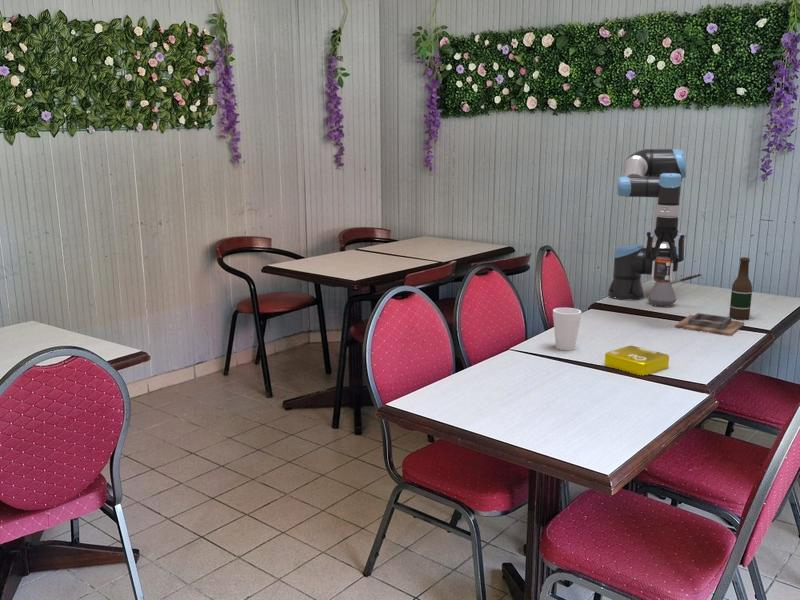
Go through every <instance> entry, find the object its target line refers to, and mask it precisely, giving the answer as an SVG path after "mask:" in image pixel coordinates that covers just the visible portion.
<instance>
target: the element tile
mask: <svg viewBox="0 0 800 600" xmlns="http://www.w3.org/2000/svg"><path fill="white" fill-rule="evenodd" d="M669 363H670V355H669V354H667V353H663V352H659V351H654V350H651V349H647V348H642V347H638V346H635V345H628V346H624V347H619V348H617V349H613V350H611V351H607V352H605V354H604V366H605V367H608V368H611V369H614V368H615V370H618V369H619V370H618V371H621V370H622V372H625V371H626V372H625V373H628V372H629V374H632V375H635V374H636V375H635V376H639V375H640V377H645V376H644V375H647V376H649V375H648V374H650V375H652V374H651V373H653V374H655V373H658V372H661V371H663V370H666V369H668V368H669V366H670V365H669ZM654 372H655V373H654ZM641 375H642V376H641Z"/></svg>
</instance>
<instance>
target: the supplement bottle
mask: <svg viewBox="0 0 800 600" xmlns="http://www.w3.org/2000/svg"><path fill="white" fill-rule="evenodd" d="M672 261H673V259H672V257H671V256H670V251H665V250H661V251H659V256H657V257H656V261H655V273H654V279H653V280H654V281H655V282H656V281H657V282H671V281H670V268H671V263H672Z"/></svg>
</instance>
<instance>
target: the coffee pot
mask: <svg viewBox="0 0 800 600" xmlns="http://www.w3.org/2000/svg"><path fill="white" fill-rule="evenodd" d="M698 277H700V279H701V280H702V279H704V277H703V276H702V273H699V274H694V275H689V276H686V277H684V278H683V277H682V278H680V279H677V280H672V281H670V282H657V281H655V282H654V285H653V286H652V289H651V290H650V292H649V294H648V296H647V300H648V302H649V303H651V305H652V304H653V305H652V306H654V305H656V306H655V307H658V306H669V307H671V306H672V305H674V304H675V302H676V301H677V297H676V294H675V291H674V289H673V286H672V285H673V284H676V283H679V282H685V281H688V280H689V281H690V280H692V279H695V278H698Z"/></svg>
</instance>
